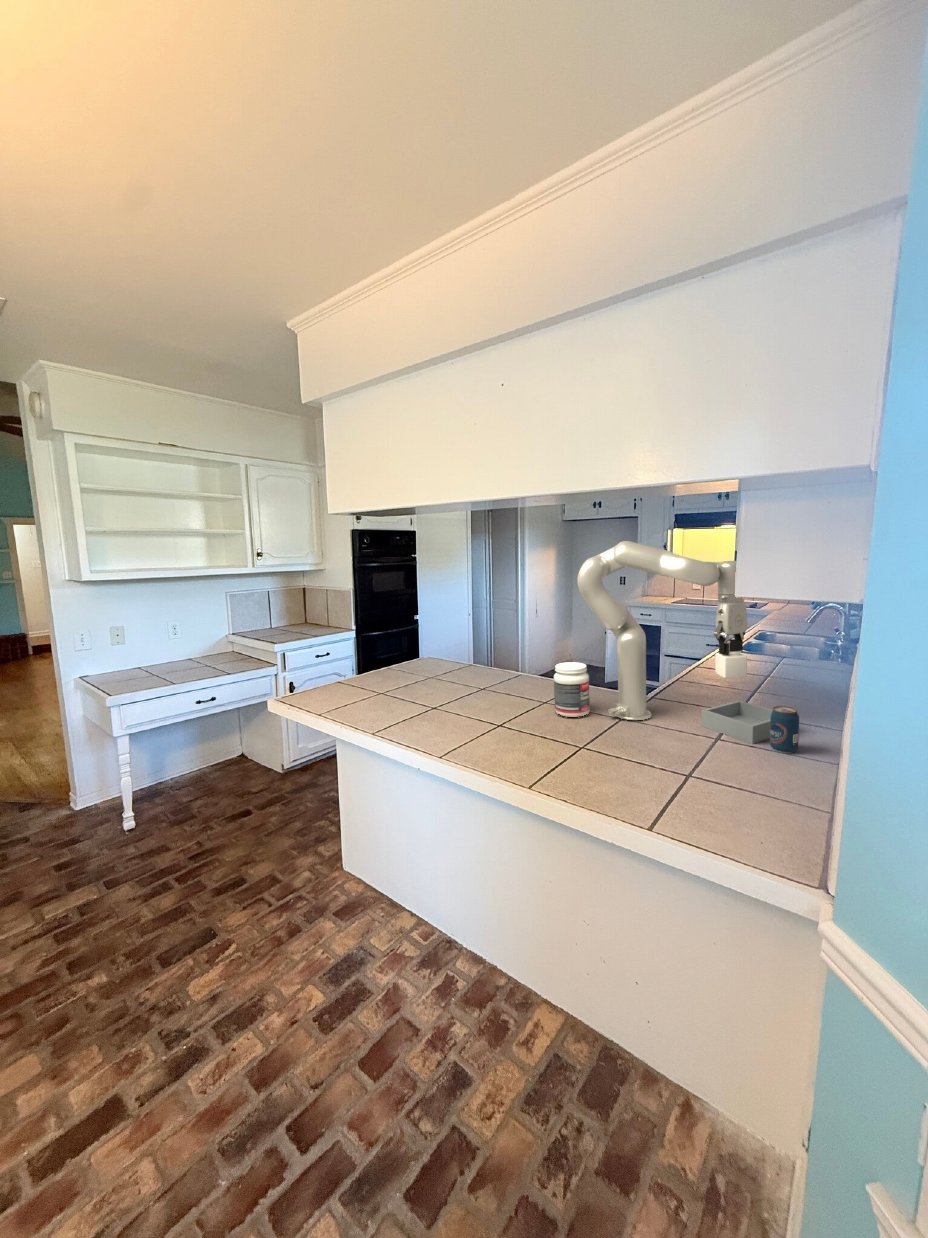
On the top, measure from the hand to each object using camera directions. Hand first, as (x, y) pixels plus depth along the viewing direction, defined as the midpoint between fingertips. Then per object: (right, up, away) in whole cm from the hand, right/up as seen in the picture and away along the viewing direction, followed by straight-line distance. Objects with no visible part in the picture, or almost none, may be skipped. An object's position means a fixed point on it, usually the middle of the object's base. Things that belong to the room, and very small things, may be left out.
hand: (730, 652), depth 162 cm
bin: (+2, -24, -4) cm, 25 cm away
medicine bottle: (+1, -8, +1) cm, 8 cm away
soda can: (+4, -27, -20) cm, 34 cm away
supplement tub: (-48, -24, +21) cm, 58 cm away
